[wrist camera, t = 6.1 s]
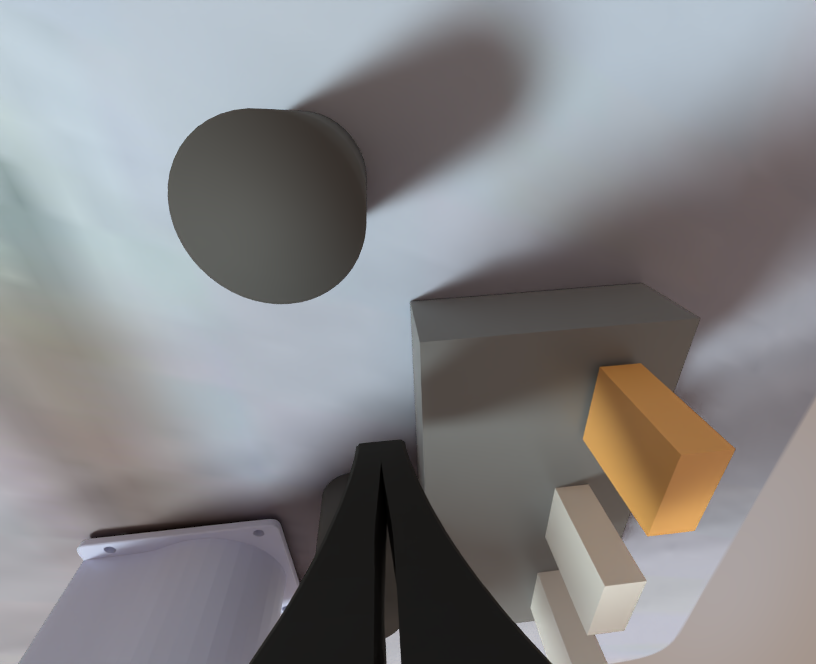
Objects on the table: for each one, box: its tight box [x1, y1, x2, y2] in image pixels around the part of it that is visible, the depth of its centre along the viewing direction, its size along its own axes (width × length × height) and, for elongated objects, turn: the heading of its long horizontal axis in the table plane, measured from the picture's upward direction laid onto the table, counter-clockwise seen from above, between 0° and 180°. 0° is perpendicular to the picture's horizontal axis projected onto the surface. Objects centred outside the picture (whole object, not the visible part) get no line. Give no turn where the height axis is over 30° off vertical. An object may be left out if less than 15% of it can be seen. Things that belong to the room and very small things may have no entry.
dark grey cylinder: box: [168, 108, 366, 304], centre depth 10 cm, size 4×4×6 cm
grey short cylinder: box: [316, 473, 399, 638], centre depth 17 cm, size 4×4×6 cm
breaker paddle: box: [583, 363, 735, 536], centre depth 12 cm, size 1×3×4 cm, turn 3°
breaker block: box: [410, 283, 700, 664], centre depth 16 cm, size 9×18×7 cm, turn 2°
